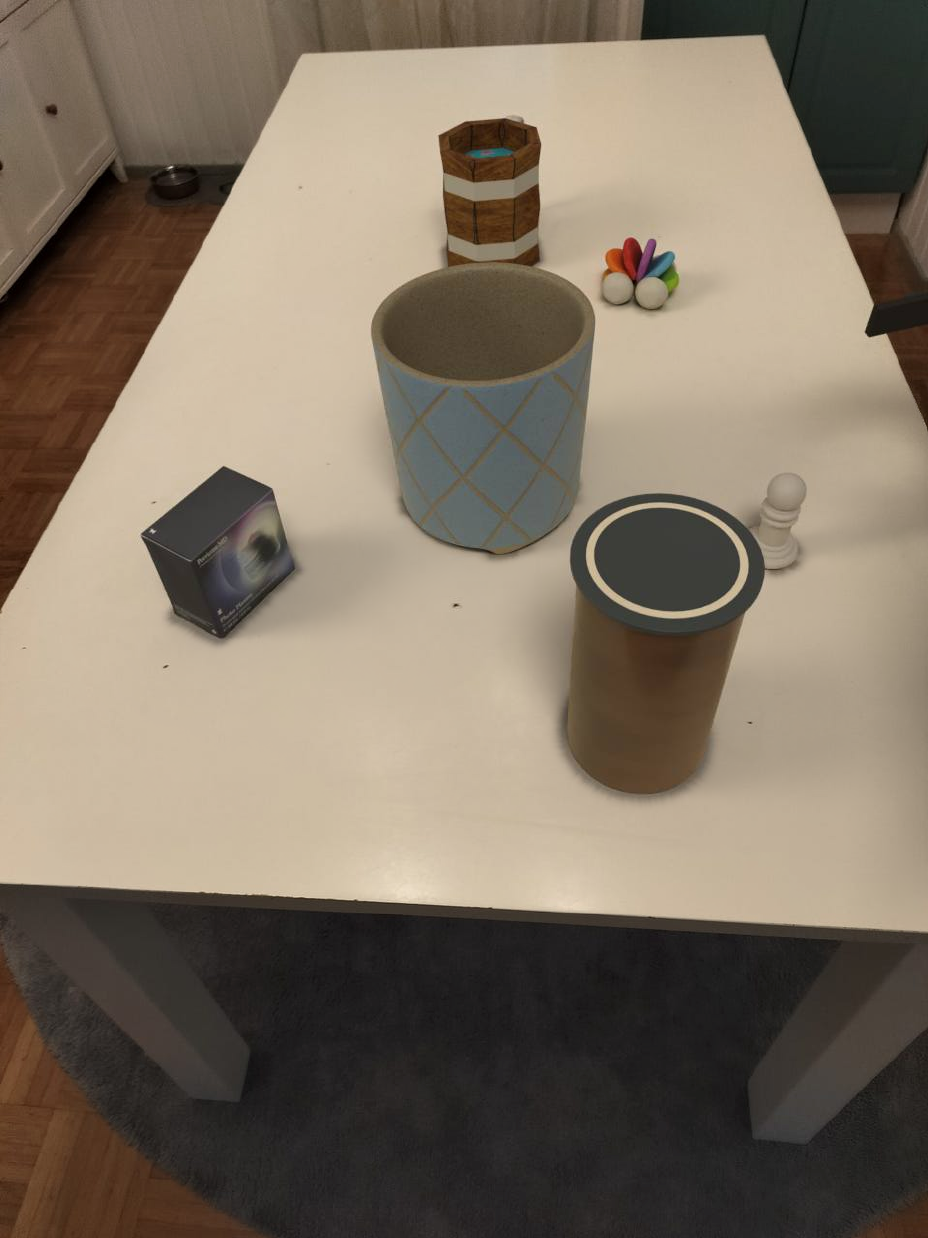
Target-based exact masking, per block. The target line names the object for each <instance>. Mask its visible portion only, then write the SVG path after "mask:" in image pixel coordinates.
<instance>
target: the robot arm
mask: <svg viewBox="0 0 928 1238" xmlns="http://www.w3.org/2000/svg"><path fill="white" fill-rule="evenodd" d="M926 325H928V288H925V289H921V290H916V291H911V292H908V293H906V294H905V295H904V296H903V297H901V298H896V299H891V300H887V301H882V302H878V303H873V306H872V308H871V311H870V315H869V318H868V321H867V324H866V328H865V330H864V333H865V335H866V336H867V337H868V338H874V337H878V336H882V335H888V334H892V333H895V332H901V331H904V330H909V329H914V328H918V327H923V326H926Z"/></svg>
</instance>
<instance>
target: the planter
mask: <svg viewBox="0 0 928 1238" xmlns="http://www.w3.org/2000/svg"><path fill="white" fill-rule="evenodd" d="M595 331H596V315H595V311H594V307H593V304H592V303H591V301H590V299H589V298H588V296H587V295H586V294H585V293H584V292H583V291H582V290H581V289H580V288H579V287H578V286H576V285H575V284H574V283H573V282H571V281H569V280H568V279H566V278H564V277H562V276H560V275H559V274H556V273H553V272H552V271H548V270H545V269H542V268H540V267H535V266H532V267H531V266H526V265H520V264H512V263H498V262H485V263H471V264H463V265H457V266H451V267H448V266H447V267H443V268H439V269H436V270H433V271H430V272H427V273H424V274H422V275H419V276H417V277H415V278H413V279H411V280H409V281H406V282H405V283H403V284H402V285H400V286H399V287H397V288H395V290H393V291H392V292H391V293H390V294H388V295H387V296H386V297H385V298H384V299H383V300H382V301H381V303H380V304H379V306H378V307H377V309H376V310H375V312H374V315H373V317H372V321H371V325H370V337H371V342H372V348H373V352H374V358H375V363H376V369H377V370H376V371H377V376H378V380H379V385H380V392H381V397H382V402H383V407H384V411H385V412H384V413H385V417H386V421H387V426H388V431H389V436H390V441H391V446H392V451H393V456H394V461H395V466H396V467H395V468H396V471H397V472H396V473H397V477H398V482H399V487H400V492H401V496H402V500H403V503H404V505H405V509H406V511H407V512H408V514H409V516H410V517H411V518H412V520H413V521H414V522H415V523H416V524H417V525H418V526H419V527H420V528H421V529H422V530H423V531H425V532H426V533H428V534H430V535H431V536H433V537H435V538H437V539H439V540H441V541H444V542H447V543H448V544H449V543H450V544H452V545H457V546H461V547H466V548H472V549H480V550H486V551H489V552H491V553H494V554H496V555H505V554H508V553H512V552H514V551H517V550H520V549H521V548H524V547H526V546H528V545H529V544H533V543H534V542H535V541H537V540H539V539H541V538H542V537H543V536H545V535H547V534H548V533H550V532H551V531H552V530H553V529H555V528H556V527H557V526H559V524H561V523H562V522H563V520H565V518H566V517H567V516H568V514H569V513H570V512H571V510H572V509H573V506H574V504H575V502H576V498H577V497H578V496H577V495H578V491H579V485H580V477H581V469H582V458H583V448H584V441H585V439H584V438H585V430H586V421H587V411H588V403H589V395H590V383H591V373H592V363H593V352H594V344H595V343H594V342H595V333H596V332H595Z"/></svg>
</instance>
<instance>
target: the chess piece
mask: <svg viewBox="0 0 928 1238" xmlns="http://www.w3.org/2000/svg"><path fill="white" fill-rule="evenodd" d="M807 491H808V490H807V484H806V482H805V480H804V479H803V477H801V476H800V475H798V474H796V473H793V472H782V473H779V474H777V475H775V476H774V477H773V478H772V479H770V481H769V483H768V485H767V489H766V497H765V498H764V499H763V500H762V502H761V507H760V510H759V516H760V519H761V520H760V523H759V525H756V526H752V527H750V528H747V529H748V530H749V531H750V532H751V533H752V535H753V536H754V538H755V539H756V540H757V542H758V544H759V546H760V548H761V551H762V554H763V557H764V564H765V569H767V570H778V569H783V568H786V567H788V566H790V565H791V564H792V563H794V561H795V560H796V559H797V556H798V554H799V544H798V542H797V539H796V538H795V537H794V536H793V535H792V534H791V529H792V527H794V526H795V524H796V523H797V522H798V520H799V516H800V514H801V510H802V509H801V506H802V504H803V503H804V501H805V500H806V497H807Z"/></svg>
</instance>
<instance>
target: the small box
mask: <svg viewBox="0 0 928 1238" xmlns="http://www.w3.org/2000/svg"><path fill="white" fill-rule="evenodd" d="M277 503H278V502H277V500H276V496H275V493H274V489H273V488H272V487H271V486H268V485H267V484H264V483H262V482H260V481H258V480H257V479H254V478H252V477H249V476H247V475H246V474H242V473H240V472H239V471H236V470H234V469H232V468H229V467H227V466H225V465H222V466H221V467H220V468H218V469H217V471H215V472H214V473H213V474H212V475H210V476H209V477H207V479H206V480H205V481H203V482H202V483H200V485H198V486H197V487H196V488H195V489H193V490H192V491H191V492H190V493H188V494H187V495H186V496H184V498H182V499H181V500H180V501H179V502H178V503H176V504H175V505H174V506H172V508H171V509H169V510H167V511H166V512H165V513H164V514H163V515H161V516H160V517H159V518H158V519H157V520H156V521H154V522H153V523H152V524H151V525H149V526H148V527H147V528H146V529H145V530H143V531H142V532H141V533H140V538H141V540H142V541H143V543H144V546H145V548H146V549H147V552H148V553H149V557H150V558H151V560H152V563H153V565H154V567H155V570H156V572H157V574H158V576H159V579H160V581H161V584H162V586H163V589H164V591H165V593H166V595H167V597H168V599H169V601H170V604H171V606H172V611H173V613H174V615H176V616H178V617H180V618H183V619H184V620H186V621H188V622H190V623H192V624H194V625H195V626H197V627H198V628H200V629H203V630H204V631H205V632H206V633H208V634H211V635H213V636H215V637H216V638H219V639H223V638H224V637H225V636H226V635H227V634H228V633H229V632H230V631H231V630H232V629H233V628H234V627H235V626H236V625H237V624H238V623H239V622H240V621H242V620H243V619H244V617H246V616H247V615H248V614H249V613H250V612H251V611H252V610H253V609H254V608H255V607H256V606H257V605H258V604H259V603H261V602H262V600H263V599H264V598H266V597H267V595H269V594H270V592H272V591H273V590H274V589H275V588H276V587H277V586H278V585H279V584H280V583H281V582H282V581H284V579H285V578H287V577H288V576H289V574H290V573H292V572H293V571H294V570H295V569H296V568H295V563H294V561H293V557H292V554H291V550H290V547H289V543H288V539H287V536H286V532H285V530H284V525H283V522H282V518H281V514H280V510H279V507H278V504H277Z"/></svg>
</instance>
